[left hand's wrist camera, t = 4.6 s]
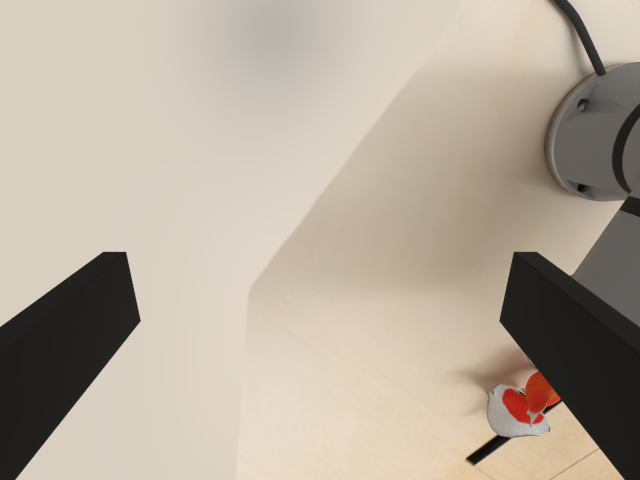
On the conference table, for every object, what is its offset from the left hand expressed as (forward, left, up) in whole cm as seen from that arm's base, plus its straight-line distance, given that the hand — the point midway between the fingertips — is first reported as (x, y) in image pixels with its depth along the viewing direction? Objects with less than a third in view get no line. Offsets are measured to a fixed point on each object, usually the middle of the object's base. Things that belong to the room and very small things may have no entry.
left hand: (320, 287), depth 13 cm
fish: (+42, +21, -34) cm, 58 cm away
